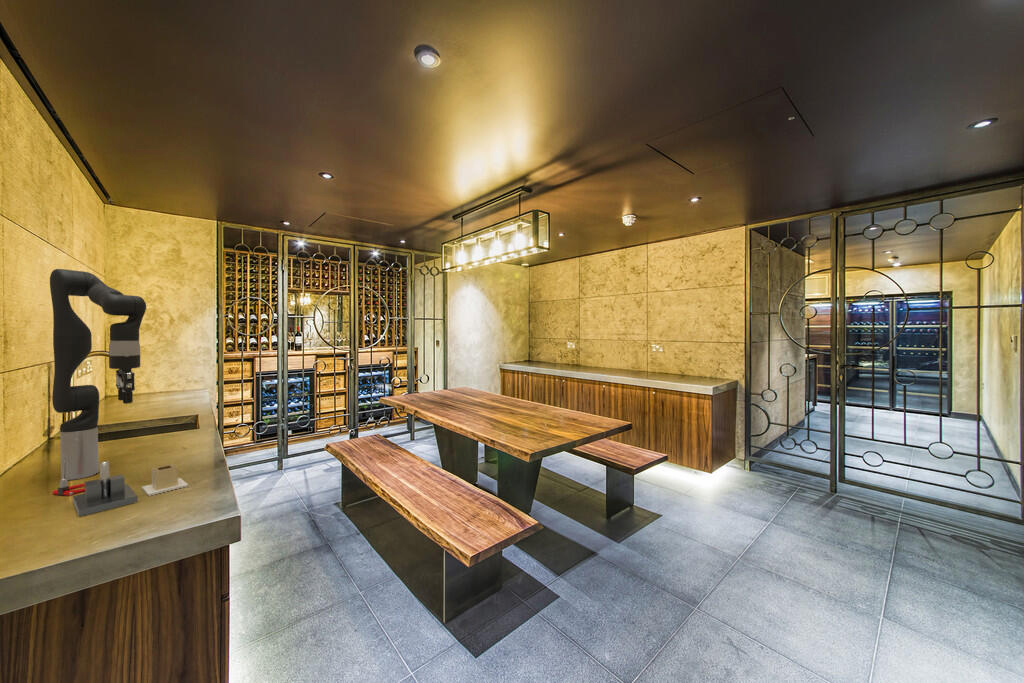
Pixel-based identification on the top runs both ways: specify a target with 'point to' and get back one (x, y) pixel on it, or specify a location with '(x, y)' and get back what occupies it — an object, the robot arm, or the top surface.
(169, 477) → the collar
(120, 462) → the top surface
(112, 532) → the top surface
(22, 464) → the top surface
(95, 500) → the gray base plate
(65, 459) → the tow hook
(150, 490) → the pad
